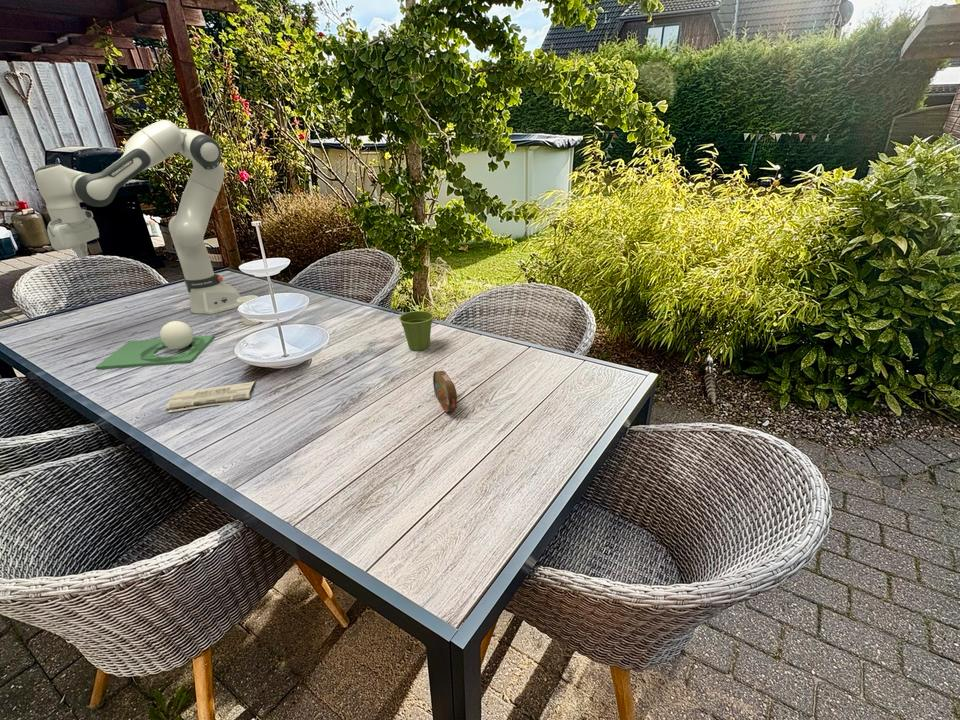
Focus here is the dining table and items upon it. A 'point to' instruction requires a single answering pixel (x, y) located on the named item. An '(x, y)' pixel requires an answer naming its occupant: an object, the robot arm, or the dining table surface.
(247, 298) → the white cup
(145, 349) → the putting mat
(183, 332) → the ball
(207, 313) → the robot arm
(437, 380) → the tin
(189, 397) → the newspaper
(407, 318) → the plant pot
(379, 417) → the dining table surface
